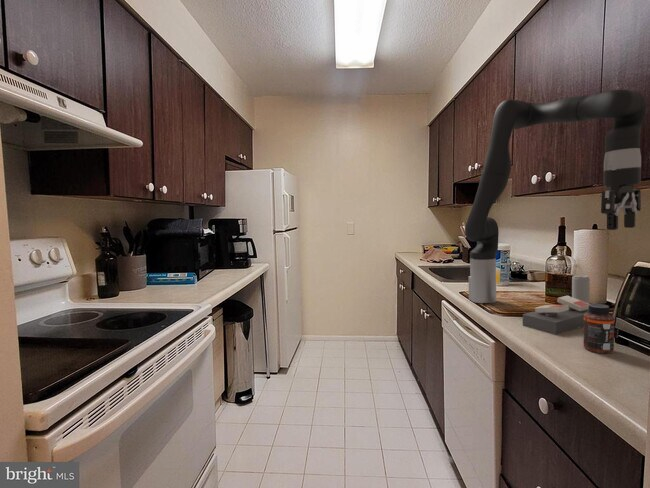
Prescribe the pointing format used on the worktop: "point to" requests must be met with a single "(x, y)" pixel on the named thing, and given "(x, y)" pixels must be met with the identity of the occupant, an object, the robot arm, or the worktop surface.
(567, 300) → the rocker outlet
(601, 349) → the supplement bottle
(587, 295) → the beverage can
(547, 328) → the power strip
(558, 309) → the rocker outlet
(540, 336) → the worktop surface
